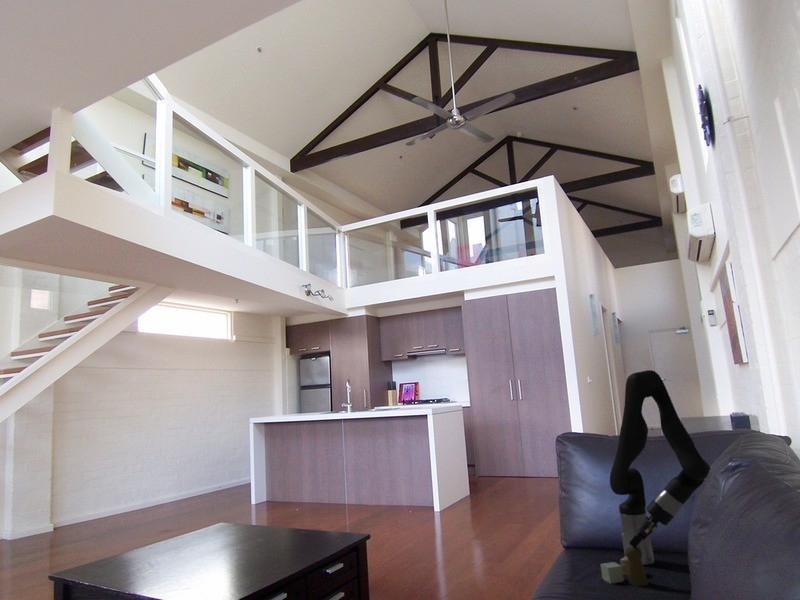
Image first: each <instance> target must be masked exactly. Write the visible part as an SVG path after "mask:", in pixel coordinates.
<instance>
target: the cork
mask: <svg viewBox="0 0 800 600" xmlns="http://www.w3.org/2000/svg"><path fill="white" fill-rule="evenodd" d="M625 555H626V557H627V558H628V576H627V577H628V584H629V585H630V584H631V586H633V585H634V586H633V587H646V586H648V585H649V581H648V577H647V574H646V572H645V568H644V565H643V564H642V561H641V557H642V552H641V550H640V549H639V548H637V547H636V548H634V547H628V548H626V549H625V554H624V556H625Z"/></svg>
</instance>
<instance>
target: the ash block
mask: <svg viewBox="0 0 800 600" xmlns="http://www.w3.org/2000/svg"><path fill="white" fill-rule="evenodd" d="M619 563H620V565H621V566H622V571H623V574H625V575H624V576H627V575H628V558H627V557H626V556H625V555H624V557H622V558H621V559H619Z"/></svg>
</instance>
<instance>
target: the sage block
mask: <svg viewBox="0 0 800 600" xmlns="http://www.w3.org/2000/svg"><path fill="white" fill-rule="evenodd" d="M600 571H601V578H602V580H603V579H604V580H603V581H604V582H606V581H607V582H606V583H608V582H609V583H608V584H610V585H611V583H612V584H617V583H618V582H619V583H624V582H625V577H624V575H623V571H622V566H621V564H618V563H617V562H614V561H613V562H612V561H611V562H605V563H600ZM623 581H624V582H623Z"/></svg>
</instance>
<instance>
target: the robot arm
mask: <svg viewBox="0 0 800 600" xmlns="http://www.w3.org/2000/svg"><path fill="white" fill-rule="evenodd" d="M651 397H652V399H653V400H654V401H655V403H656V406H657V408H658V411H659V418H660V419H659V420H660V421H659V422H660V428H661V430H662V433H663V436H664V438H665V439H666V441H667V443H668V445H669V446H670V448H671V449H672V450H673V452H674V453H675V456H676V458H677V461H678V462H679V464H680V466H681V468H682V470H680V472H679V474H677V475H676V476H674V477H673V478H672V479H670V481H669V482H668V483H667V485H665V487H663V489H662V490H661V491H660V492H658V493H657V495H655V497H654V498H653V500H652V501H651V502H650V503H649V504H648V505H647V503H646V502H647V501H646V495H645V486H644V485H645V484H644V480H643V477H642V475H641V473H640V471H639V470H638V469H637V468H633V467H632V468H630V467H631V465H632V464H633V463H634V462H635V460H636V459H637V458H638V457H639V455H641V453H642V452H643V451H644V450H645V447H646V444H647V440H648V435H649V427H648V424H647V422H646V420H645V417H644V416H643V406H644V405H643V403H644V401H645V399H646V398H651ZM623 408H624V409H623V415H622V421H621V426H620V431H619V435H618V444H617V449H616V453H615V458H614V461H613V464H612V467H611V470H610V475H609V485H610V488H611V489H610V490H611V491H612V492H613V493H614V494H615V495H619V496H625V495H626V496H628V497H627V499H626V500H625V501H623V502H622V503H620V504H619V505H618V510H619V516H620V521H621V528H622V532H621V539H622V541H621V542H622V546H623V547H622V548H623V551H624V552H623V553H624V557H625V556H626V555H625V549H626V548H628V547H634V548H636V547H637V548H639V549H640V550H641V552H642V557H641V561H642V564H643V566H644V565H645V566H646V565H648V566H649V565H652V564H655V558H654V552H653V545H652V540H651V534H652V533H653V532H654V531H656V529H658V523H660V524H662V525H664V526H668V525H669V523H670V522H671V521H672V520H673V519H674V518H675V517H676V515H678V513H679V512H680V510H681V509H682V507H683V506H684V504H686V502H688V500H689V499H690V498H691V496H692V494H693V493H694V492H695V491H696V490H697V489H699V488H700V487H701V486H702V484H704V482H705V481H704V479H705V478H706V477H707V475H708V473H709V470H710V469H711V466H710V465H709V463H708V462H707V461H706V460H705V459H703V457H702V456H701V454H700V453H699V451H698V449H697V448H696V446H695V442H694V440H693V439H692V437H691V435H690V434H689V432H688V431H687V429H686V427H685V426H684V424H683V422H682V420H681V419H680V417H679V415H678V414H677V411H676V408H675V406H674V404H673V401H672V399H671V396H670V394H669V392H668V390H667V387H666V385H665V383H664V380H663V379H662V377H661V376H660V374H659V373H657V371H655V370H652V369H651V370H650V369H649V370H642V371H637V372H633V373H631V374H629V376H628V377H627V379H626V382H625V392H624V407H623ZM703 481H704V482H703ZM646 505H647V507H646ZM646 511H647V512H648V514H650V516H649V517H648V516H647V513H646Z"/></svg>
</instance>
